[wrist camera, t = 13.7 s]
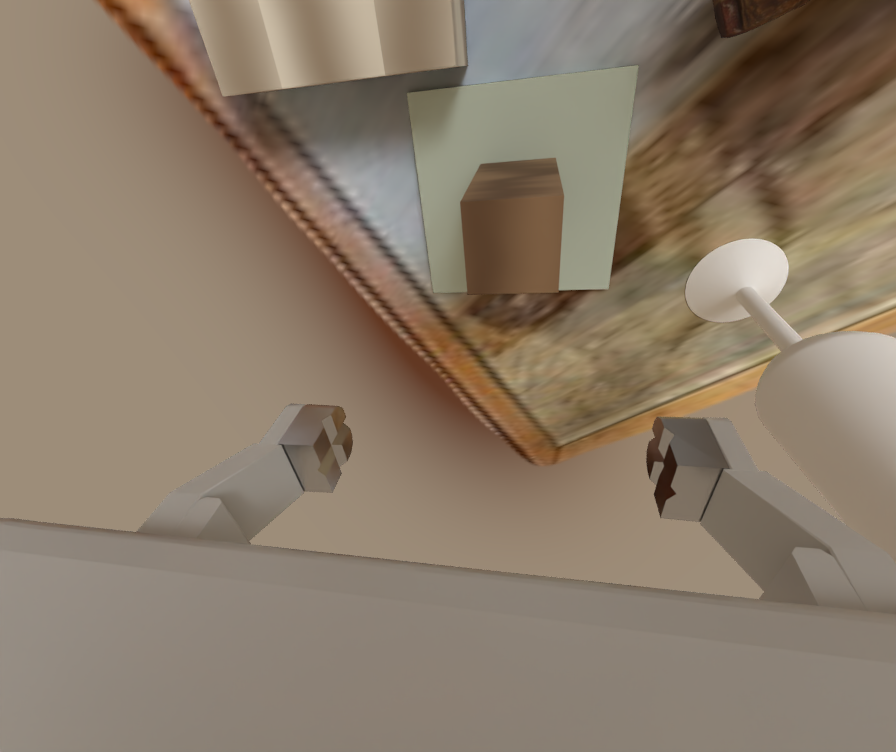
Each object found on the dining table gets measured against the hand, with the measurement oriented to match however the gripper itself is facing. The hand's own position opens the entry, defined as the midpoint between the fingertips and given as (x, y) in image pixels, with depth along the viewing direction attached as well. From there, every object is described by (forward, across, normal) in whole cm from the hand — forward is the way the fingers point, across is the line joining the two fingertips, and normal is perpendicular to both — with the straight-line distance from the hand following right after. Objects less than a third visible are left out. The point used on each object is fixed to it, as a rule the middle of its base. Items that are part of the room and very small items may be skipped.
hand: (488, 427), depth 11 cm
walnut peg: (+23, 0, 0) cm, 23 cm away
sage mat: (+24, 0, 0) cm, 24 cm away
